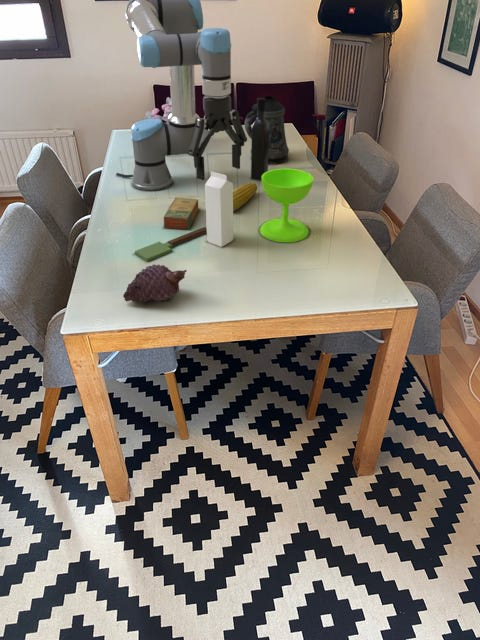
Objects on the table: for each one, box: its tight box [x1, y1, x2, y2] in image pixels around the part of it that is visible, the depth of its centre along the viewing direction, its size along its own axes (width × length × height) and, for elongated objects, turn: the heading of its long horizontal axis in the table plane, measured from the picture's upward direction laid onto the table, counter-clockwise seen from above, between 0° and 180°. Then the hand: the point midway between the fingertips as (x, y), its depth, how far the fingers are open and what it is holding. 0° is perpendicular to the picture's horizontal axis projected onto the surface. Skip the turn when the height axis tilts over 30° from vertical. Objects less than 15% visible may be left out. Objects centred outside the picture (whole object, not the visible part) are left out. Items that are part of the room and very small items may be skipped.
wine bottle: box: [250, 97, 269, 181], centre depth 197 cm, size 6×6×30 cm
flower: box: [142, 96, 172, 123], centre depth 232 cm, size 20×22×25 cm
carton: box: [163, 197, 199, 230], centre depth 174 cm, size 8×16×4 cm, turn 171°
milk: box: [204, 171, 234, 248], centre depth 156 cm, size 6×6×22 cm
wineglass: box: [259, 167, 314, 243], centre depth 163 cm, size 16×16×18 cm
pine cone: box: [122, 263, 187, 303], centre depth 134 cm, size 18×10×10 cm
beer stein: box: [244, 96, 290, 165], centre depth 216 cm, size 16×19×25 cm
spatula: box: [134, 226, 207, 263], centre depth 161 cm, size 26×6×1 cm, turn 133°
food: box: [233, 182, 258, 211], centre depth 185 cm, size 21×6×6 cm, turn 155°
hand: (218, 173), depth 149 cm, fingers open, 13 cm apart
